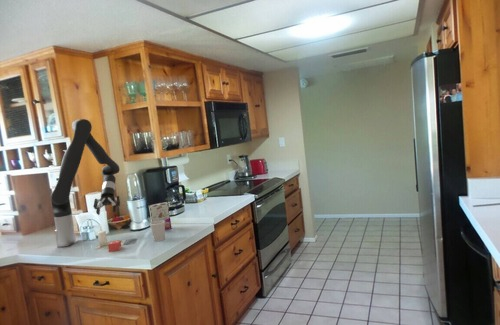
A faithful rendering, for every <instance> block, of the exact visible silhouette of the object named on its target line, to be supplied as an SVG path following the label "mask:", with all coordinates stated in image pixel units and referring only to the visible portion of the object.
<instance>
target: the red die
mask: <svg viewBox="0 0 500 325" xmlns="http://www.w3.org/2000/svg"><path fill="white" fill-rule="evenodd" d="M121 241H122V240H120V239H118V240H112V241H109V242H110V243H109V244H108V252H116V251H120V250H121V248H122V245H121Z"/></svg>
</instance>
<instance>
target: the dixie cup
mask: <svg viewBox="0 0 500 325" xmlns="http://www.w3.org/2000/svg"><path fill="white" fill-rule="evenodd" d="M149 226H150V229H151V233H152V236H153V240H154V242H162V241H164V240H165V239H166V236H165V235H166V230H165V221H164V220H158V221H153V222H151V221H150V222H149Z"/></svg>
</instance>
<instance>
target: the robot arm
mask: <svg viewBox="0 0 500 325" xmlns="http://www.w3.org/2000/svg"><path fill="white" fill-rule="evenodd" d="M71 128H72V131H73V133H74V134H73V137H72V141H71V142H70V144H69V145H68V147H67V148H66V150H65V152H64V154H63V157H62V161H61V163H60V164H61V165H60V169H59V175H58V179H57V182H56V185H55V187H54V189H53V190H52V192H51V193H50V201H51V206H52V207H51V208H52V213H53V217H54V225H55V230H54V235H55V242H56V247H57V248H58V247H67V246H72V245H74V244H75V243H76V242H77V238H76V230H75V225H74V219H73V213H72V212H73V211H72V206H71V200H70V199H71V198H70V195H71V189H72V185H73V181H74V179H75V177H76V174H77V173H78V170H79V167H80V165H81V164H80V163H81V162H82V157H83V154H84V151H85V150H84V149H85V147H87V148H88V150H89V151H90V152H91V154H92V155H93V157H94V158H95V160H96V161H97V162H98V163H99V165H104V166H103V167H102V168H101V174H102V178H103V180H102V185H101V194H100V198H95V199H94V203H93V206H92V207H93V208H94V210H95V212H96V215H97V216H99V215H100V214H101V208H103V207H105V206H110V205H111V206H112V213H116V212H117V207H121V198H120V196H119V195H117V196H116V177H115V176H114V175H117V174H118V173H119V172H120V166H119V164H118V163H117V162H115V160H113V159H112V157H110V156H109V155H108V154H107V152H106V150H105V149H104V147H102V145H101V144H100V143H99V142H98V141H97V140H96V138H94V137H93V135H92V133H91V132H92V129H93V128H92V123H91V122H90V120H88V119H86V118H80V119H76V120H74V121H73V122H72V124H71ZM115 201H116V202H115Z"/></svg>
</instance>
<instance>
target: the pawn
mask: <svg viewBox="0 0 500 325" xmlns="http://www.w3.org/2000/svg"><path fill="white" fill-rule="evenodd" d="M97 238H98V245H100V247H104V246H107V245H108V244H107V243H108V238H107V231H106V230H102V231H101V230H100V231H98V232H97Z"/></svg>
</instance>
